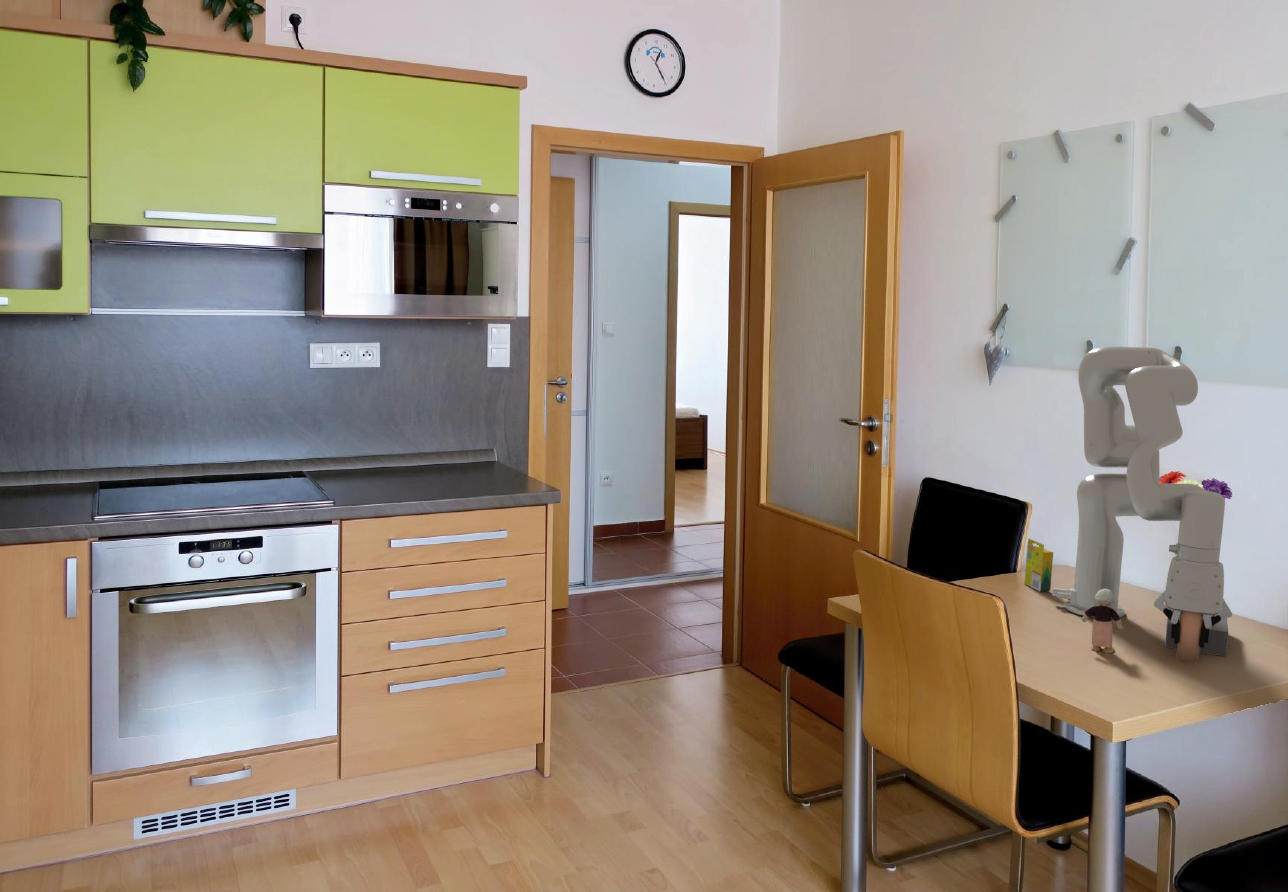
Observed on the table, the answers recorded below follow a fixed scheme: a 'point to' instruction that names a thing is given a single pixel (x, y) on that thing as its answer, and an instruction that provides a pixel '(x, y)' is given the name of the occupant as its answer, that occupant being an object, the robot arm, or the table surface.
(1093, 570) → the robot arm
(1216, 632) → the socket block
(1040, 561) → the crayon box
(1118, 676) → the table surface
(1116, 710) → the table surface
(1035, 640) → the table surface
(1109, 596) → the grandmother figurine
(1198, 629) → the terracotta peg
